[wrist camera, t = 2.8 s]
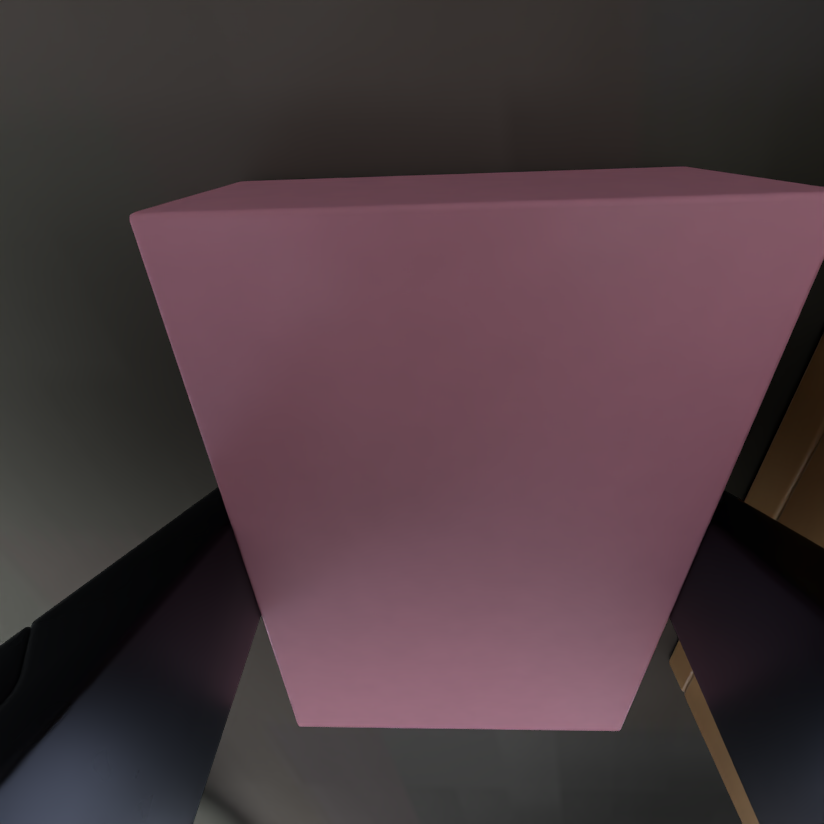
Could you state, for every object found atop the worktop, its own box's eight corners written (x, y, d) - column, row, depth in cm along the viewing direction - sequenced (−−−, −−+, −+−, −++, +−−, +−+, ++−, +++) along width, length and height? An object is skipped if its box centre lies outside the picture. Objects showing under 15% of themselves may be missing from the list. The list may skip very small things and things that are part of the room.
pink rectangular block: (686, 166, 6) (856, 191, 4) (578, 599, 11) (621, 732, 8) (237, 180, 6) (124, 214, 4) (325, 598, 11) (297, 727, 9)
